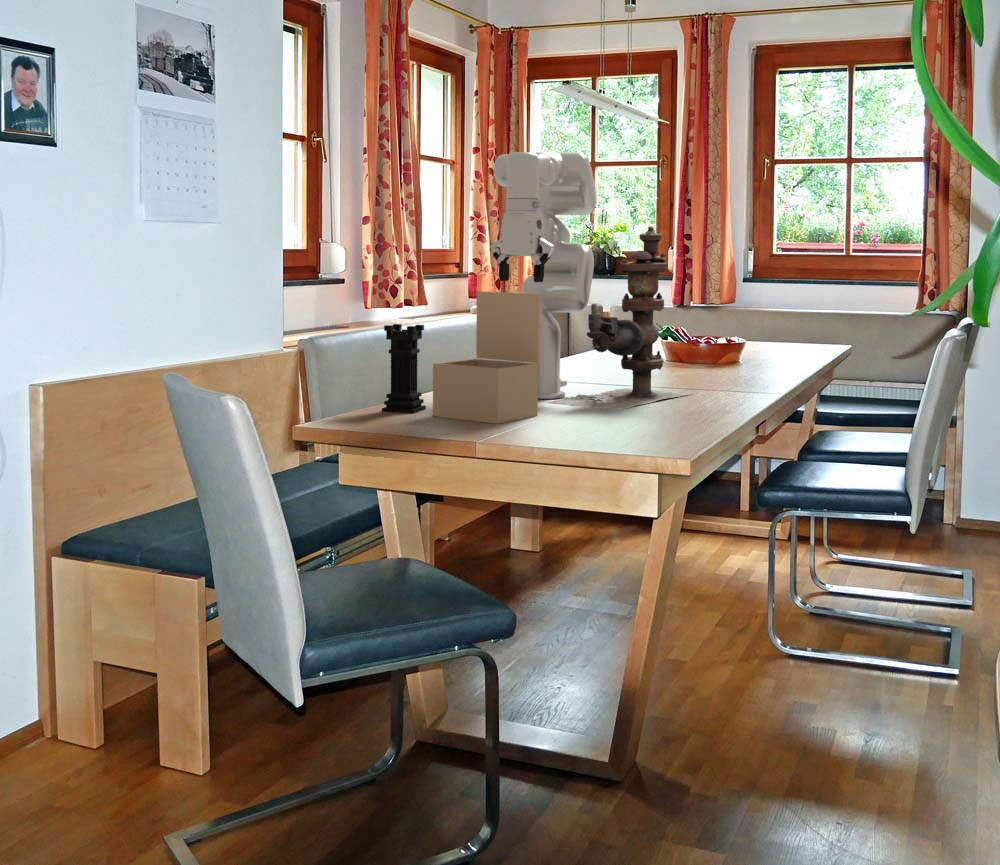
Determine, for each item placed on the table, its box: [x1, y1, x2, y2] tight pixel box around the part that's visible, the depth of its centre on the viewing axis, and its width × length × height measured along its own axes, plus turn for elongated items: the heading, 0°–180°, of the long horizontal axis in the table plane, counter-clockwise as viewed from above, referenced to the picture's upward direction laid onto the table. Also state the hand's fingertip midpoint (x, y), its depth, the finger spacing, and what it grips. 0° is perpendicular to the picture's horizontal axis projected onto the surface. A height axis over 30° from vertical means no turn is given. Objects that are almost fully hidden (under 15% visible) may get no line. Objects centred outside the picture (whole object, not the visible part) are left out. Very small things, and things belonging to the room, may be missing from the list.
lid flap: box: [475, 290, 541, 363], centre depth 261 cm, size 16×18×5 cm
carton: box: [432, 358, 539, 425], centre depth 255 cm, size 16×18×12 cm
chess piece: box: [381, 323, 427, 414], centre depth 261 cm, size 8×8×20 cm
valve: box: [547, 225, 692, 411], centre depth 288 cm, size 42×20×45 cm, turn 145°
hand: (521, 281), depth 262 cm, fingers open, 9 cm apart
